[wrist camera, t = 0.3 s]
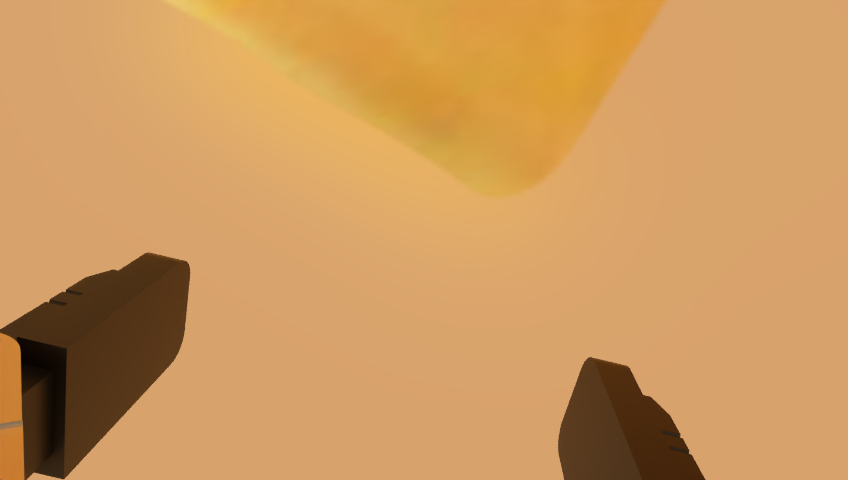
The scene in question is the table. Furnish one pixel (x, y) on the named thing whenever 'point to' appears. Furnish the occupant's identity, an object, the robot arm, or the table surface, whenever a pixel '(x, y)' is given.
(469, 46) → the table surface
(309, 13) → the table surface
